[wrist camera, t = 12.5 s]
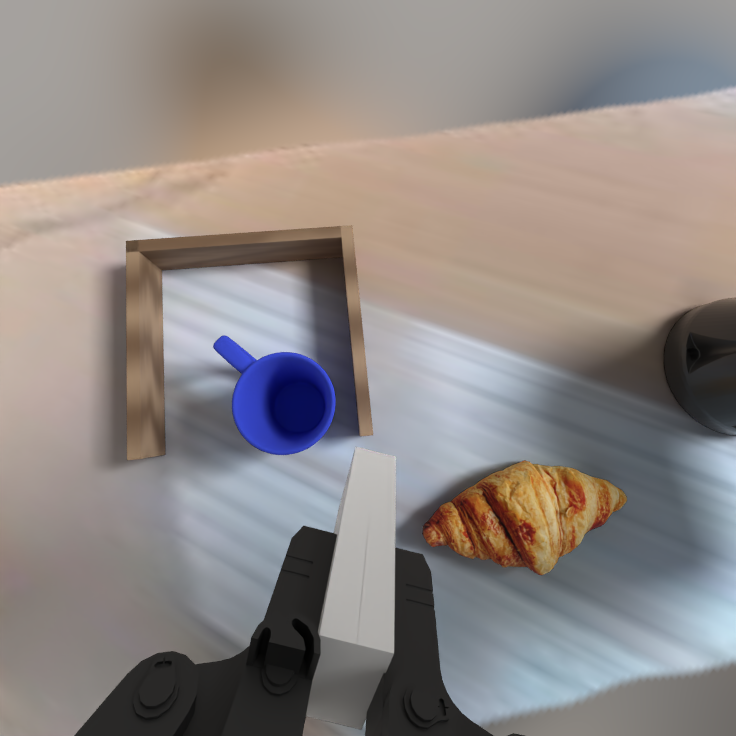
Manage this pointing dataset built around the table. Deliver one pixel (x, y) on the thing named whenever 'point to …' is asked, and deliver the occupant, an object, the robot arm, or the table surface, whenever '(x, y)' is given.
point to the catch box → (207, 252)
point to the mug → (279, 399)
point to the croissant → (524, 515)
